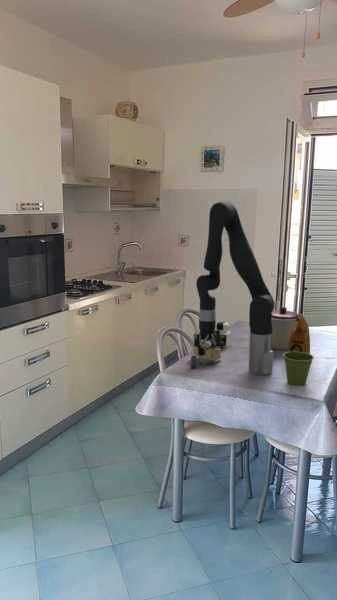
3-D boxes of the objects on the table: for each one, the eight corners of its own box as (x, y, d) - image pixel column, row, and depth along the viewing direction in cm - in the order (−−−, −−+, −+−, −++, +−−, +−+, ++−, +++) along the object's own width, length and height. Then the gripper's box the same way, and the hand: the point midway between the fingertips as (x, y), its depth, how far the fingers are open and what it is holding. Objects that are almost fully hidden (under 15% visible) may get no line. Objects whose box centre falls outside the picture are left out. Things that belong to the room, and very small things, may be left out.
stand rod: (197, 368, 201) (197, 356, 200) (193, 369, 200) (193, 357, 199) (194, 366, 203) (194, 355, 202) (189, 367, 202) (190, 356, 201)
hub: (220, 361, 210) (220, 344, 209) (205, 365, 205) (206, 347, 203) (207, 356, 217) (207, 340, 216) (192, 360, 212) (192, 343, 210)
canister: (296, 343, 241) (298, 303, 237) (302, 353, 223) (305, 310, 219) (261, 341, 243) (262, 302, 239) (264, 352, 225) (266, 309, 221)
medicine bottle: (212, 346, 234) (213, 323, 232) (218, 343, 240) (218, 320, 238) (226, 348, 231) (226, 325, 229) (231, 344, 237) (231, 322, 235)
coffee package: (283, 365, 205) (286, 317, 201) (289, 358, 216) (292, 312, 212) (306, 369, 201) (309, 320, 197) (311, 361, 212) (314, 314, 207)
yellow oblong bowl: (220, 358, 208) (220, 349, 207) (210, 361, 204) (210, 351, 203) (203, 352, 217) (203, 343, 216) (193, 354, 214) (193, 345, 213)
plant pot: (282, 387, 180) (284, 359, 178) (280, 376, 191) (281, 350, 189) (314, 389, 178) (316, 361, 176) (310, 378, 190) (311, 352, 187)
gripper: (213, 315, 215) (212, 349, 218) (189, 319, 206) (189, 355, 209) (224, 318, 209) (223, 353, 212) (200, 322, 200) (200, 359, 203)
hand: (206, 354), depth 211 cm, fingers open, 6 cm apart
